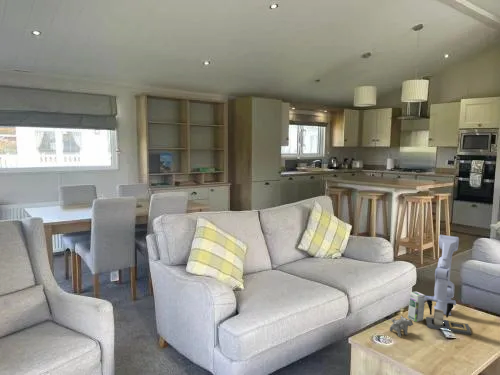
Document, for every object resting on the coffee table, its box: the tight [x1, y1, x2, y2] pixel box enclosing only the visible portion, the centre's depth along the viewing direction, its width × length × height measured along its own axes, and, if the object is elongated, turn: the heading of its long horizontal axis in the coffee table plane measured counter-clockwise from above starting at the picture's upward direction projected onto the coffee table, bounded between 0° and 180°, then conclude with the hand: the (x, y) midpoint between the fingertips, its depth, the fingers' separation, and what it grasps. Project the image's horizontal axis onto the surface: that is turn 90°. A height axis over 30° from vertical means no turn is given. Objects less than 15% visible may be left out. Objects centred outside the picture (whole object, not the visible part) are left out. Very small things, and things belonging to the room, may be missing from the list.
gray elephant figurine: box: [389, 315, 414, 338], centre depth 191 cm, size 9×12×8 cm
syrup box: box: [407, 291, 426, 323], centre depth 206 cm, size 6×6×14 cm
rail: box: [425, 316, 472, 336], centre depth 198 cm, size 10×20×2 cm, turn 68°
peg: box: [432, 308, 445, 326], centre depth 199 cm, size 4×4×8 cm
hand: (438, 315), depth 199 cm, fingers open, 7 cm apart
